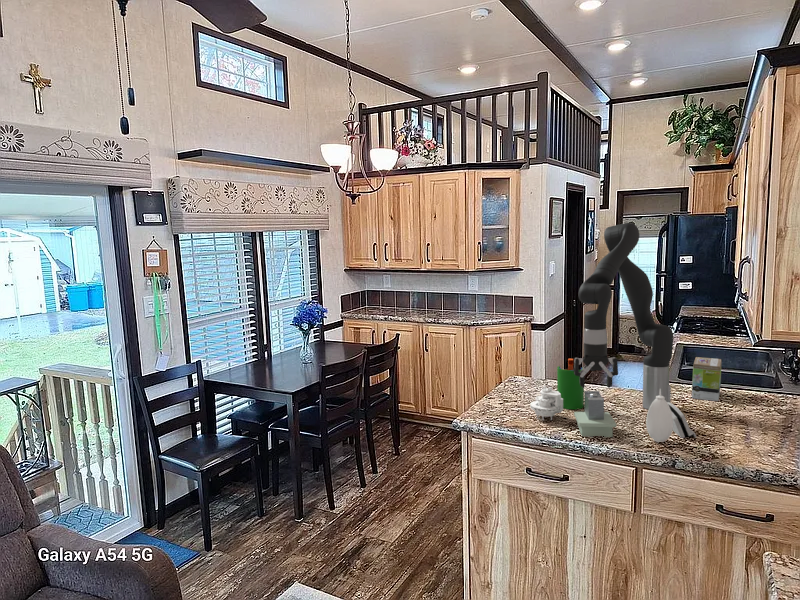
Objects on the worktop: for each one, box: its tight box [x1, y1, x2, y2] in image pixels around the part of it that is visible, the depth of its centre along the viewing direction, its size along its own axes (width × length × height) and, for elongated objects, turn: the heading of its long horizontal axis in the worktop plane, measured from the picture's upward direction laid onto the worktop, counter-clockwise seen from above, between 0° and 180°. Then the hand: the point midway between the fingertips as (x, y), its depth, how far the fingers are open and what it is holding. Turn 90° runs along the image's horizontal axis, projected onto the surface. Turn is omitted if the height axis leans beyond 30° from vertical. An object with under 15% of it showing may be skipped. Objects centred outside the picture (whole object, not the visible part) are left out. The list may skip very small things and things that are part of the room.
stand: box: [573, 411, 617, 438], centre depth 187 cm, size 12×12×5 cm
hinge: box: [667, 402, 697, 439], centre depth 187 cm, size 17×5×10 cm, turn 175°
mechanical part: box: [529, 385, 564, 421], centre depth 202 cm, size 11×12×12 cm
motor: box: [556, 358, 585, 410], centre depth 214 cm, size 10×9×20 cm
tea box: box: [691, 356, 722, 402], centre depth 223 cm, size 15×10×15 cm, turn 148°
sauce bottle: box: [645, 389, 673, 443], centre depth 175 cm, size 8×8×18 cm
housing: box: [583, 390, 605, 420], centre depth 189 cm, size 5×9×8 cm, turn 170°
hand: (595, 387), depth 185 cm, fingers open, 8 cm apart
